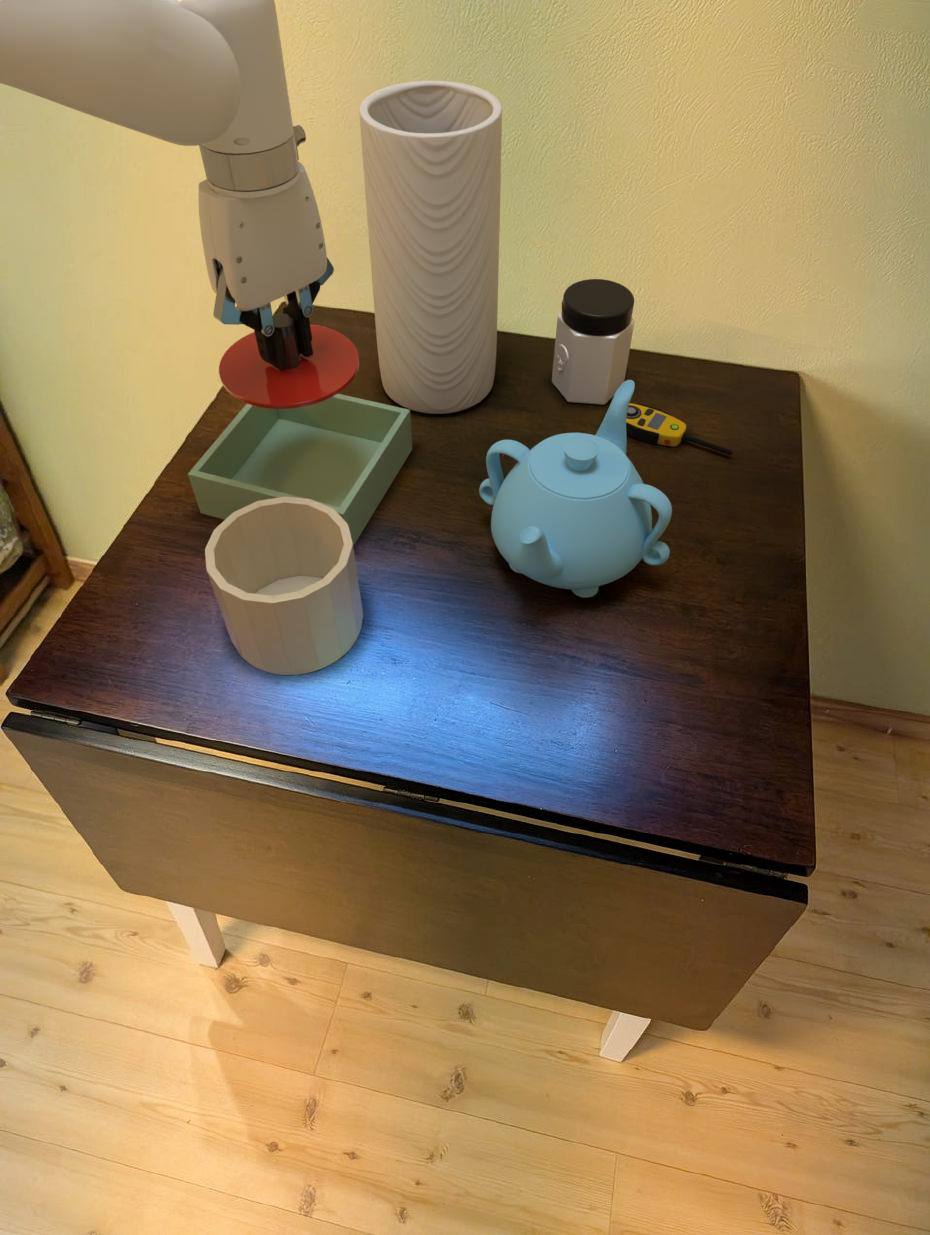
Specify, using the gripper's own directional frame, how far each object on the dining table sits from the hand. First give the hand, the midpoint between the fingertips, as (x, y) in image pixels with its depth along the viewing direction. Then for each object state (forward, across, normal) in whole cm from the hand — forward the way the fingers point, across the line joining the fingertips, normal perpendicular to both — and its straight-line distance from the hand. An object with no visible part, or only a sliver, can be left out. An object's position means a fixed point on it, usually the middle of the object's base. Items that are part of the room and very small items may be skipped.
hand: (287, 356), depth 82 cm
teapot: (+16, -12, +28) cm, 34 cm away
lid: (+1, 0, 0) cm, 1 cm away
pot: (+16, +14, +15) cm, 26 cm away
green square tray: (+16, 0, 0) cm, 16 cm away
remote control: (+16, -35, +24) cm, 45 cm away
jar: (+16, -36, +10) cm, 40 cm away
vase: (+16, -22, -3) cm, 28 cm away
